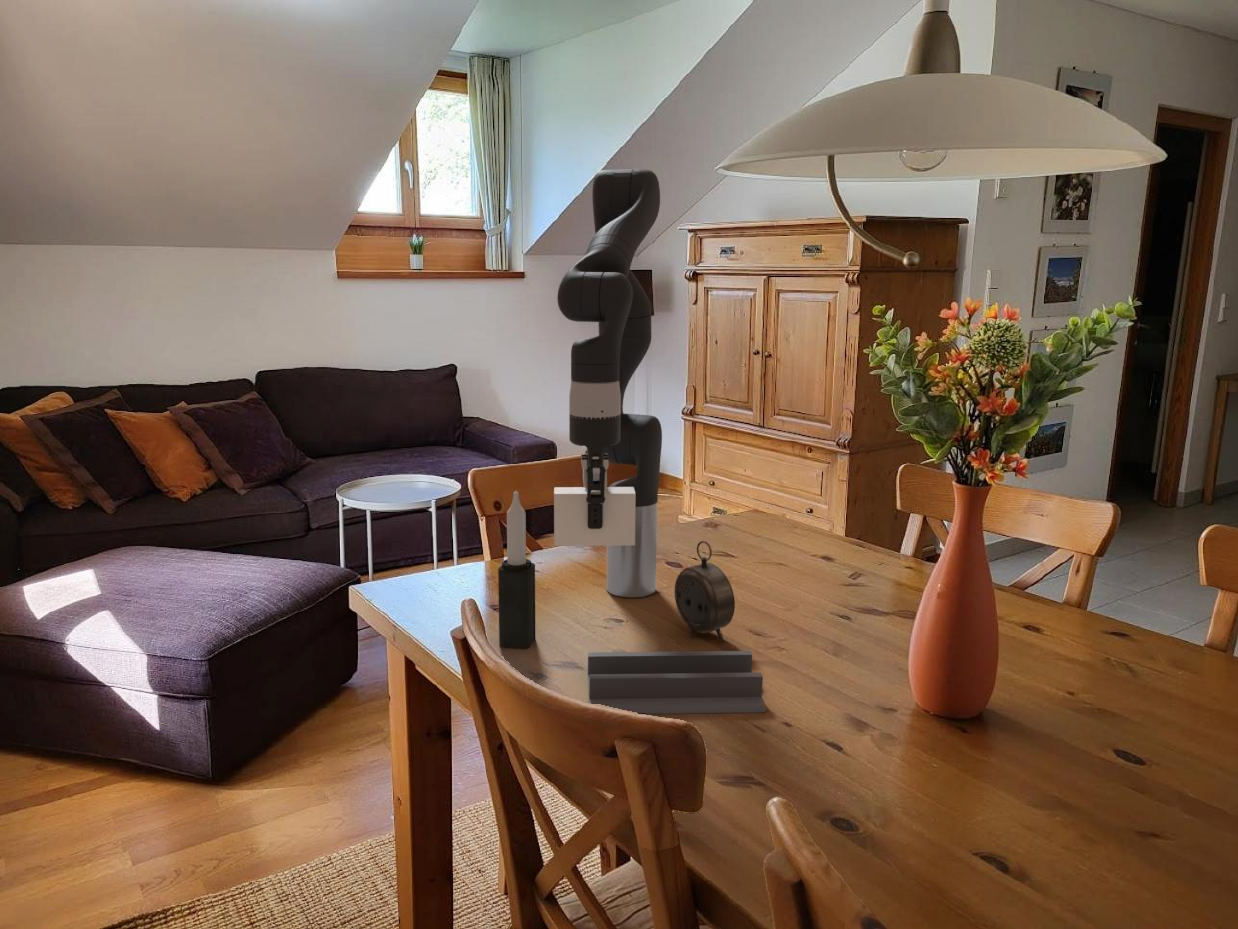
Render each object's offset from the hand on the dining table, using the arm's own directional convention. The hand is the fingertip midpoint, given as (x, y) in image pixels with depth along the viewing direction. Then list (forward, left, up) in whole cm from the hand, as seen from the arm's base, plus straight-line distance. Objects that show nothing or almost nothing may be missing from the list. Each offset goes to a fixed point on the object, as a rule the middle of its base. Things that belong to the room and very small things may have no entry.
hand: (594, 523), depth 139 cm
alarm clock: (-8, +18, -22) cm, 29 cm away
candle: (-6, -12, -22) cm, 26 cm away
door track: (+12, +11, -22) cm, 27 cm away
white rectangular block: (0, 0, -3) cm, 3 cm away
